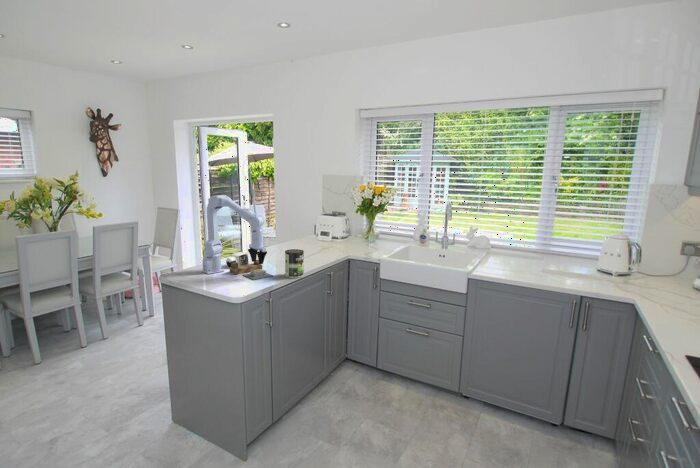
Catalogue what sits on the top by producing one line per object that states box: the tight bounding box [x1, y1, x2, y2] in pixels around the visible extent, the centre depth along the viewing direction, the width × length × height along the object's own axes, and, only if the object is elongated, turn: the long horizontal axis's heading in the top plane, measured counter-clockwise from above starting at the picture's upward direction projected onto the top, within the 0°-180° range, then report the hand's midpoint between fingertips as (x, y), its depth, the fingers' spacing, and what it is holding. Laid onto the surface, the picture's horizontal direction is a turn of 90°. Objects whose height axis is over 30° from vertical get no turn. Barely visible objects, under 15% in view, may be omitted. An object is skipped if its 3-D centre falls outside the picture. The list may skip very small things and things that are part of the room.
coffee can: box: [284, 248, 305, 279], centre depth 206 cm, size 10×10×14 cm
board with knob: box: [228, 259, 263, 276], centre depth 213 cm, size 17×7×6 cm, turn 134°
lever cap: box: [249, 268, 267, 277], centre depth 204 cm, size 7×4×3 cm, turn 134°
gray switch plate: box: [242, 272, 274, 281], centre depth 205 cm, size 12×12×1 cm
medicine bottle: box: [225, 251, 250, 268], centre depth 224 cm, size 7×7×12 cm
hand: (257, 262), depth 203 cm, fingers open, 7 cm apart
